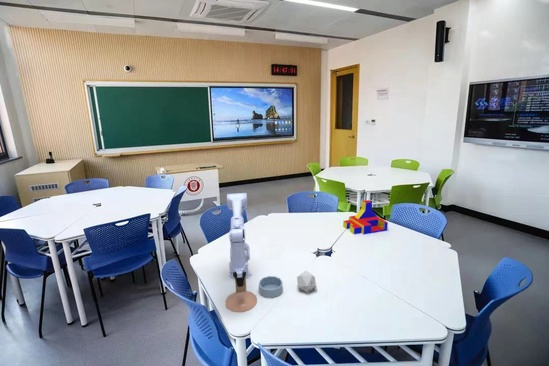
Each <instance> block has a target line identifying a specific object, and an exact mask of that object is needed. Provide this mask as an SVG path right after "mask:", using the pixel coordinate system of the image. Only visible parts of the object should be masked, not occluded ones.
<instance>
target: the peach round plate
mask: <svg viewBox="0 0 549 366" xmlns="http://www.w3.org/2000/svg"><path fill="white" fill-rule="evenodd" d="M257 302H258V297H257V295H256V294H254V293H253V292H252V291H249V290H246V292H240V293H236V291H235V292H233V293H231V294H229V295H228V296H227V297H226V299H225V307H226V309H227V310H229V311H231V312H233V313H244V312H248V311H250V310H252V309H253V308H255V306H256V305H257Z"/></svg>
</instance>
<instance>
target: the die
mask: <svg viewBox="0 0 549 366" xmlns="http://www.w3.org/2000/svg"><path fill="white" fill-rule="evenodd" d="M296 278H297V279H296V281H297V287H298V288H299V289H301V290H302V291H303V292H306V293H309V292H310V291H311V290H313V289H314V288H315V287H317V283H316V282H317V281H316V276H315V275H313V274H311V273H310V272H309V271H308V270H304V271H303V272H302V273H300V274H299V275H297V277H296Z"/></svg>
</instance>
